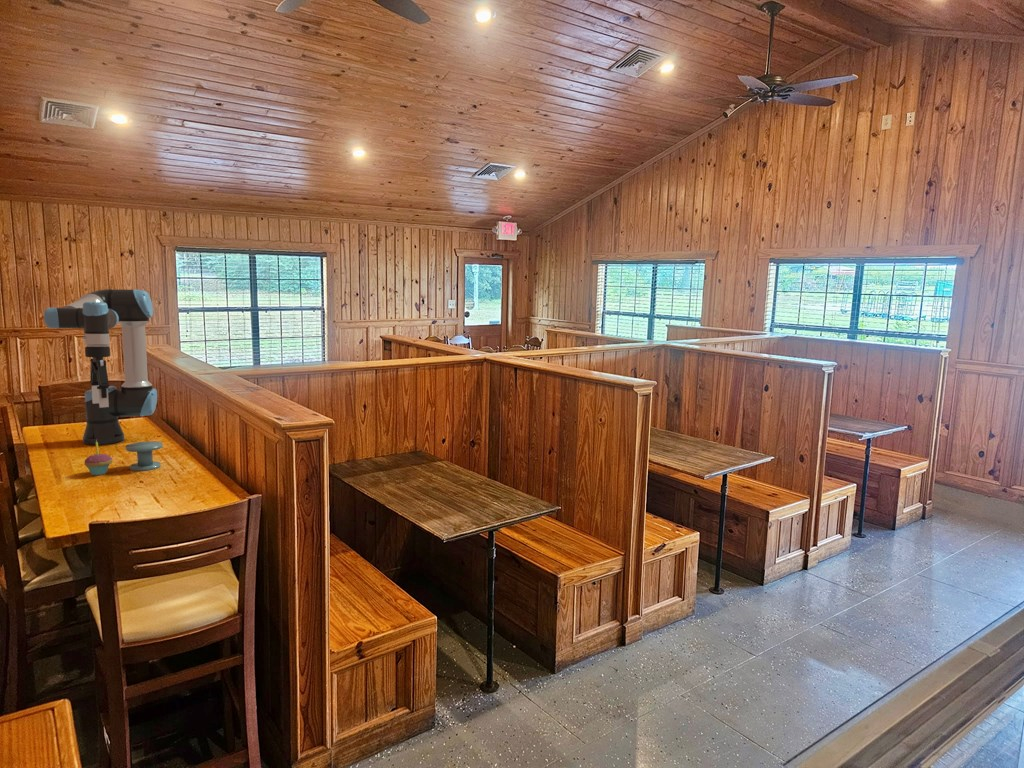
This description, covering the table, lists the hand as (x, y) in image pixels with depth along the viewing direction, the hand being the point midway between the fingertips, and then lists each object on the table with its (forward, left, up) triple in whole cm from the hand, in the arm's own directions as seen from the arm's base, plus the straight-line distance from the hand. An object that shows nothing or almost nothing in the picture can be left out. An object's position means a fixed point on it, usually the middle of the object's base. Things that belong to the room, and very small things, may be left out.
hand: (100, 405), depth 233 cm
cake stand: (+2, +13, -24) cm, 28 cm away
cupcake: (+2, -2, -25) cm, 25 cm away
